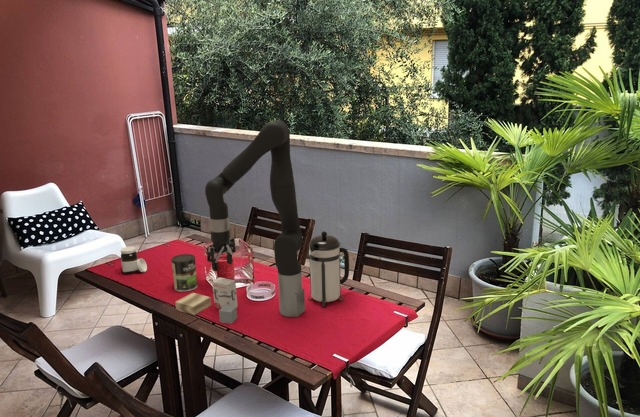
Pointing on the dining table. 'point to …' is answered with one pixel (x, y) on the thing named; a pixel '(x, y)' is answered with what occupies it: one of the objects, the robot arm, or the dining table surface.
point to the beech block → (193, 303)
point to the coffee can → (184, 272)
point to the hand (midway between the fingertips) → (222, 267)
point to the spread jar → (132, 261)
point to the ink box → (224, 292)
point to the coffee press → (326, 268)
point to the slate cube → (228, 314)
